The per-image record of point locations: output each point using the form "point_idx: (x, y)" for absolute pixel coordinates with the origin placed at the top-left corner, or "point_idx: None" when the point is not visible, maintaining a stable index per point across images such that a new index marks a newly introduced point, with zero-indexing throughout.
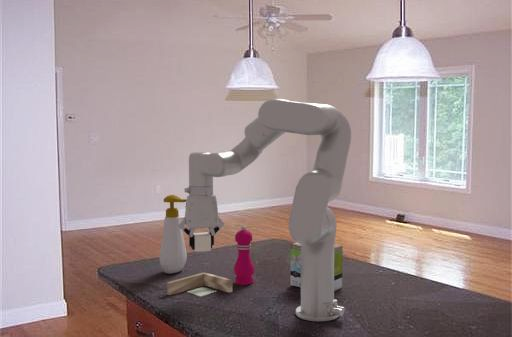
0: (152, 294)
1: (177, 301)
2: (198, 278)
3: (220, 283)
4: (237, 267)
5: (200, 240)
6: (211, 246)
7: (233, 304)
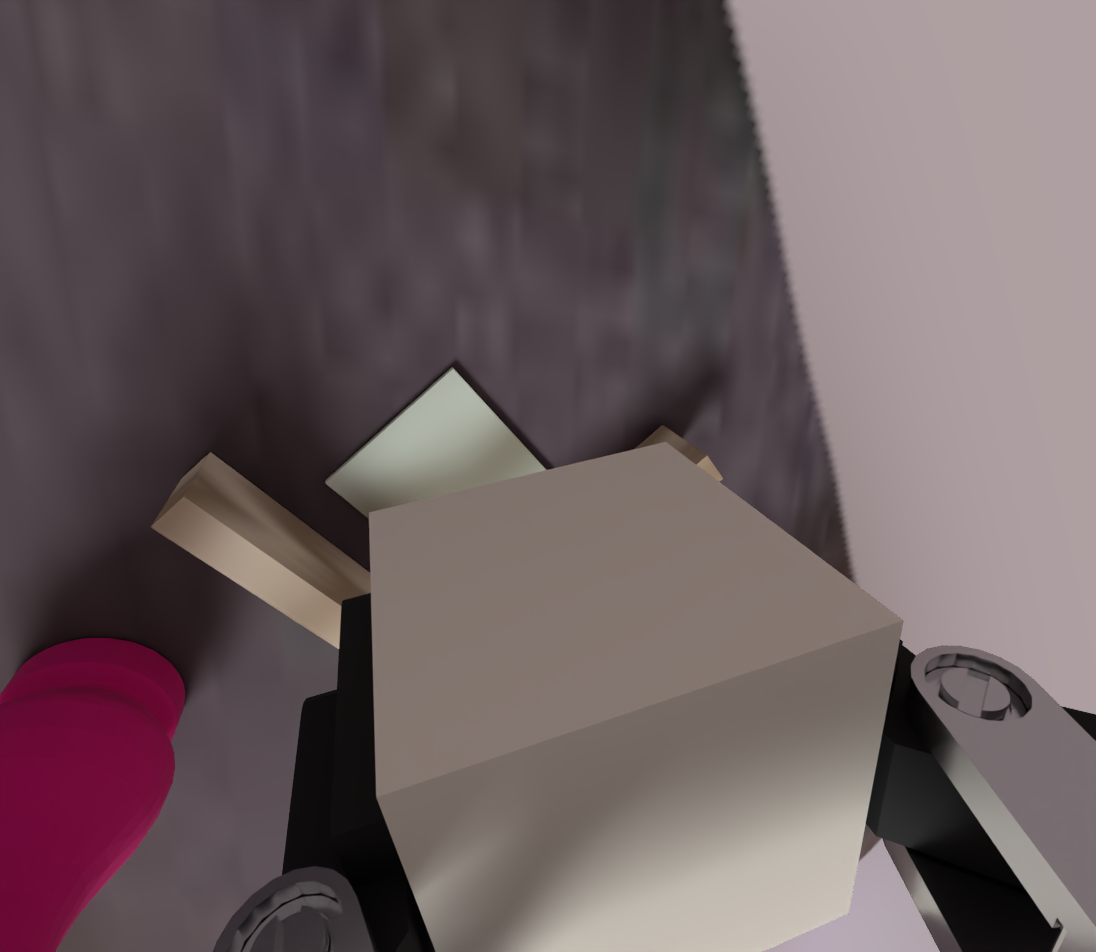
0: (757, 455)
1: (624, 285)
2: None
3: (291, 544)
4: (105, 761)
5: (671, 585)
6: (360, 609)
7: (115, 89)
